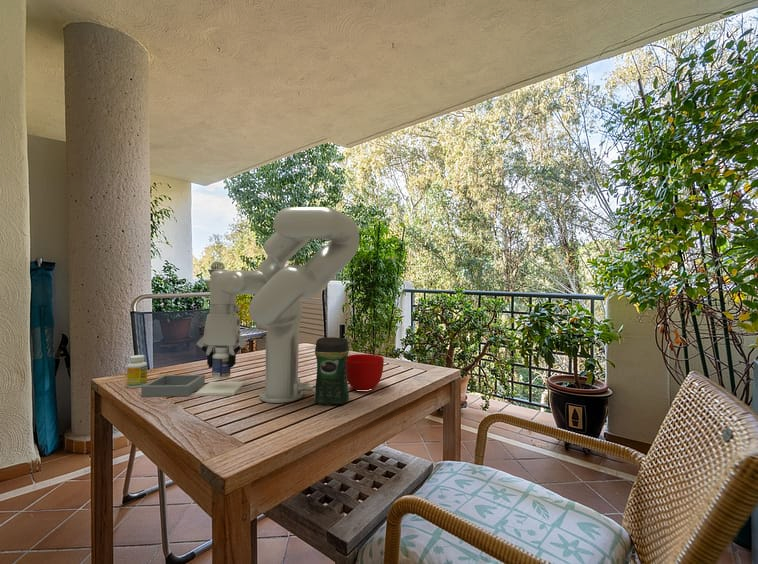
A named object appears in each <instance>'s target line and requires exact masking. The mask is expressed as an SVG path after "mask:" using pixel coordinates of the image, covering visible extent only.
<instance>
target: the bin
mask: <svg viewBox="0 0 758 564" xmlns="http://www.w3.org/2000/svg"><path fill="white" fill-rule="evenodd" d="M205 385H206V375H205V374H162V375H161V376H159V377H158V378H155V379H154V380H152V381H149V382H147V384H146V385H144V386H142V387H140V388H141V389H140V390H141V394H140V395H141V396H140V397H141V398H147V397H146V396H157V398H158V397H159V396H160V397H161V396H175V397H189V396H190V395H191V394H193V393H195V392H197V390H198V389H201V388H202V386H205ZM161 398H162V397H161Z"/></svg>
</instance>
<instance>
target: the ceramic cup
mask: <svg viewBox="0 0 758 564" xmlns="http://www.w3.org/2000/svg"><path fill="white" fill-rule="evenodd" d="M384 361H385V358H384V357H382V356H381V355H377V354H369V353H367V354H366V353H364V354H363V353H362V354H361V353H358V354H350V355H349V354H348V356H347V360H346V371H347V382H348V384H349V385H350V387H352V389H353V388H354V389H356V390H369V389H373V388H374V389H375V388H376V387H377V385H378V384H379V383H380V381H381V379H382V376H383V372H384V363H385V362H384ZM354 389H353V390H354ZM374 389H373V390H374Z"/></svg>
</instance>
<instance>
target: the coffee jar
mask: <svg viewBox="0 0 758 564" xmlns="http://www.w3.org/2000/svg"><path fill="white" fill-rule="evenodd" d="M314 349H315V350H314V355H315V357H316V358H315V359H316V379H315V387H314V402H315V403H316V404H317V403H318V405H323V404H341V405H344V404H346V403H347V402H348V400H349V386H348V384H349V383H348V381H347V371H346V360H347V356H349V354H350V353H349V352H350V349H349V341H348V339H347V338H346V337H334V336H332V337H331V336H330V337H320V338H318V339H317V340H316V342H315V347H314ZM345 402H346V403H345Z"/></svg>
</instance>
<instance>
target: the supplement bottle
mask: <svg viewBox="0 0 758 564" xmlns="http://www.w3.org/2000/svg"><path fill="white" fill-rule="evenodd" d="M145 357H146V356H145V354H136V355H131V356H129V362H128V364H127V366H126V387H127V388H129V389H137V388H138V389H139V388H141V387H142V386H144V385H146V384H148V382H147V380H148V379H147V378H148V377H147V375H148V363H147V362H146V361H145V359H146V358H145Z"/></svg>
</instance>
